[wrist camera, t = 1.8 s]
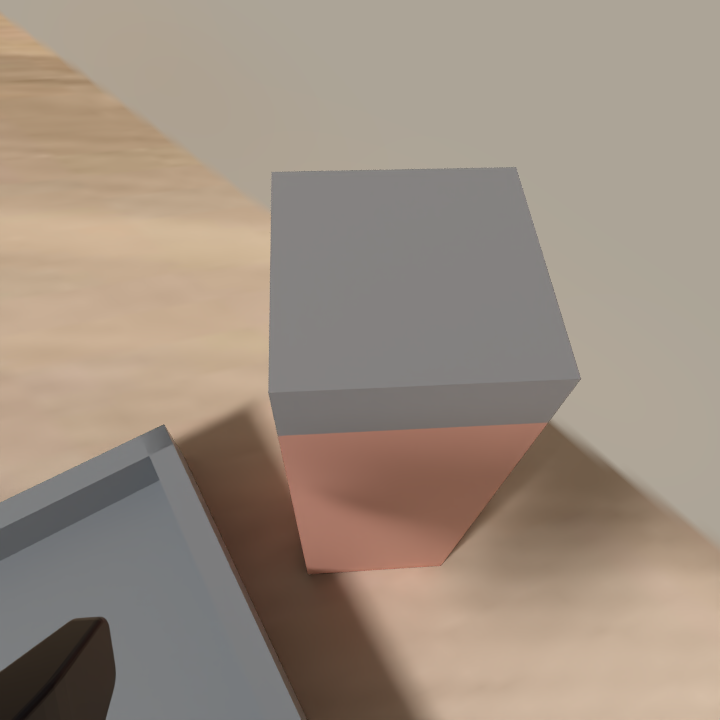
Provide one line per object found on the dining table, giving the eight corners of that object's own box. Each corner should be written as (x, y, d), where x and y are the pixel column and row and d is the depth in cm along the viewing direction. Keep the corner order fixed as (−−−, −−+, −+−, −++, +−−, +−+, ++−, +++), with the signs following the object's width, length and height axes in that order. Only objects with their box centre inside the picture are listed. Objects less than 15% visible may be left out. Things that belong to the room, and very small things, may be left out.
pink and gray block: (440, 565, 19) (580, 379, 8) (308, 574, 19) (268, 392, 8) (424, 442, 22) (515, 167, 11) (305, 448, 21) (271, 171, 10)
